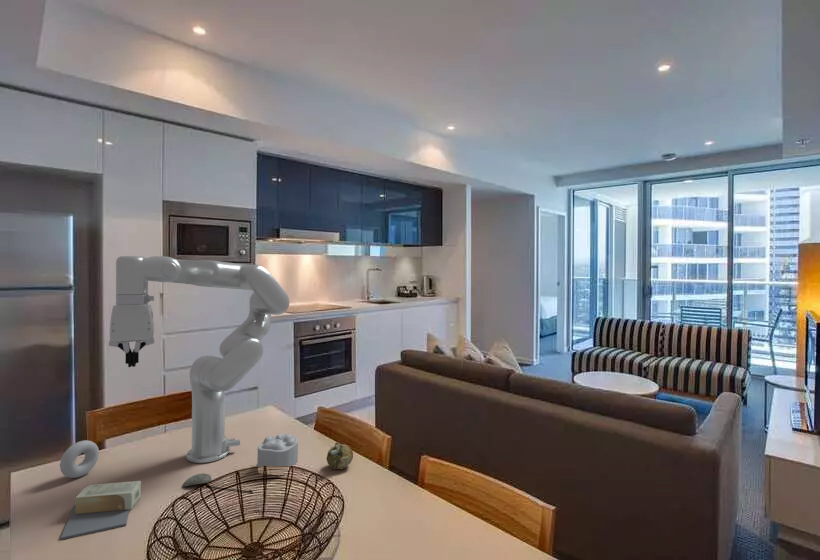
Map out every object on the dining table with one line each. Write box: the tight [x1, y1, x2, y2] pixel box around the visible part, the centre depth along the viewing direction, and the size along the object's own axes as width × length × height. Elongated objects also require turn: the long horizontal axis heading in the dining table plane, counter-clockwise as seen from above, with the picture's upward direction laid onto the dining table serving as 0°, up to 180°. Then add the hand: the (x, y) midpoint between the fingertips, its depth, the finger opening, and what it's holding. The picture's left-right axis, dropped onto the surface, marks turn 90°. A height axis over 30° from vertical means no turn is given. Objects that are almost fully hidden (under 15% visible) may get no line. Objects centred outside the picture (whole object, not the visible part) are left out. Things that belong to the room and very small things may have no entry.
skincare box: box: [74, 480, 142, 514], centre depth 107 cm, size 6×4×12 cm
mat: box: [60, 505, 130, 541], centre depth 104 cm, size 12×16×1 cm
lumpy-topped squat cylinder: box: [256, 433, 299, 467], centre depth 132 cm, size 10×13×9 cm
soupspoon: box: [181, 473, 213, 488], centre depth 118 cm, size 22×3×7 cm
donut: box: [59, 439, 100, 479], centre depth 122 cm, size 10×4×10 cm, turn 161°
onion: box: [326, 441, 354, 470], centre depth 131 cm, size 8×8×8 cm
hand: (132, 365), depth 121 cm, fingers closed
